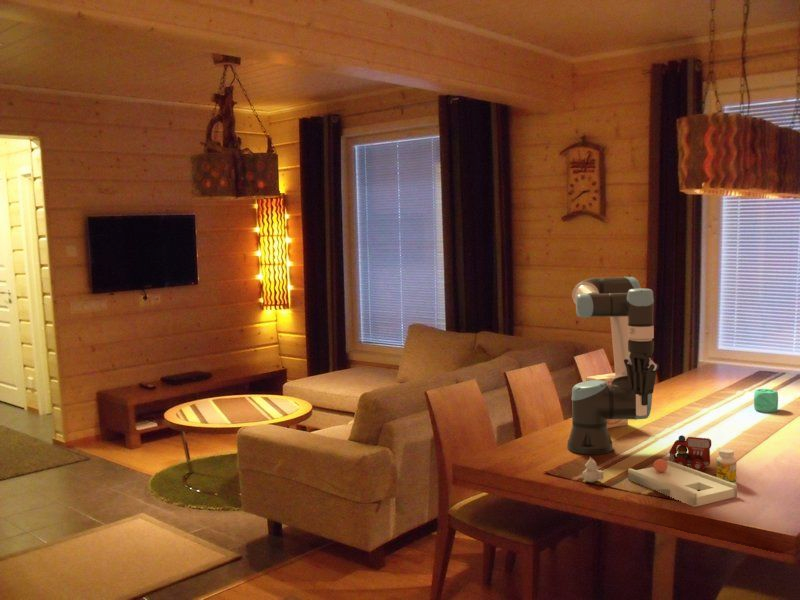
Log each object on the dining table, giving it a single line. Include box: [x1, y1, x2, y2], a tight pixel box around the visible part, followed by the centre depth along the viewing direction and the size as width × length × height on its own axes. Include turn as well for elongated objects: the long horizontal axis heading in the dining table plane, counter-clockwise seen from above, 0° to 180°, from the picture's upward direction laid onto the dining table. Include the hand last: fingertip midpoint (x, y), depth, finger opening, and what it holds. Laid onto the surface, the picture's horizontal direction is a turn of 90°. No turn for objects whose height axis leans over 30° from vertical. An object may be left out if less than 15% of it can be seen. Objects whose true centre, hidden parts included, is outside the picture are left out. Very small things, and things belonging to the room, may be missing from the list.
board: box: [627, 459, 738, 508], centre depth 222 cm, size 26×16×4 cm, turn 25°
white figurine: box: [581, 456, 605, 483], centre depth 230 cm, size 5×7×8 cm
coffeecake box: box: [585, 372, 629, 429], centre depth 293 cm, size 15×7×20 cm, turn 114°
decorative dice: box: [753, 388, 779, 413], centre depth 308 cm, size 8×8×8 cm
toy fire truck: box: [669, 434, 712, 472], centre depth 239 cm, size 7×12×10 cm, turn 57°
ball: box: [653, 458, 668, 473], centre depth 229 cm, size 4×4×4 cm
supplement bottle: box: [716, 448, 737, 484], centre depth 225 cm, size 5×5×10 cm
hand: (641, 414), depth 235 cm, fingers closed
